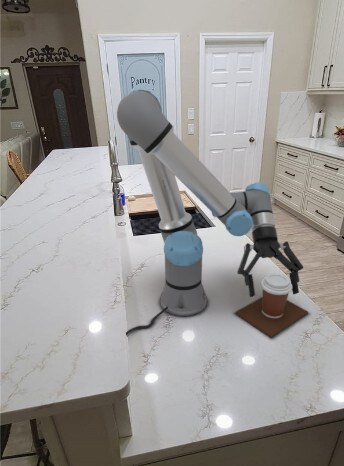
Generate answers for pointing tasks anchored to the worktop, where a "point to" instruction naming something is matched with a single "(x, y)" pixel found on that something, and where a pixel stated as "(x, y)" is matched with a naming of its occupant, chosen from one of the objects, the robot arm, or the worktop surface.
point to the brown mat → (271, 325)
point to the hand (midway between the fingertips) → (274, 295)
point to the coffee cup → (275, 294)
